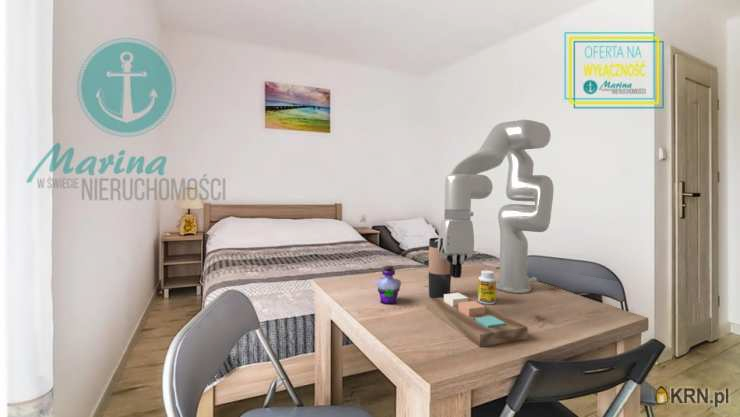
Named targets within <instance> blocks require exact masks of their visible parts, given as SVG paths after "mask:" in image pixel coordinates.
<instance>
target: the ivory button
mask: <svg viewBox="0 0 740 417" xmlns="http://www.w3.org/2000/svg"><path fill="white" fill-rule="evenodd" d="M464 295H465V294H462V293H461V292H453V293H451V292H450V294H444V302H445V303H447V304H449V305H450V306H452V307H456V306H458V303H460V302H468V297H469V296H468V297H466V296H467V295H466V296H464Z"/></svg>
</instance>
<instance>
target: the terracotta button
mask: <svg viewBox="0 0 740 417" xmlns="http://www.w3.org/2000/svg"><path fill="white" fill-rule="evenodd" d="M458 311H460V312H462V313H463V314H465V315H467V316H468V317H470V316H478V315H485V306H483V305H481V304H479V303H477V302H475V301H468V302H460V303H458Z"/></svg>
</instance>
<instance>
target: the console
mask: <svg viewBox="0 0 740 417" xmlns="http://www.w3.org/2000/svg"><path fill="white" fill-rule="evenodd" d="M463 295H464V296H466V297H468V301H475V302H477V303H479V304H481V305H483V306H485V315H478V316H470V317H468V316H467V315H465V314H463V313H462V312H460V311H458V306H456V307H452V306H450V305H449V304H447V303H445V302H444V297H442V298H426V299H425V300H426V310H427V311H429V312H430V313H432V314H433V315H435V316H436V317H437V318H438V319H440V320H441V321H443V322H444V323H446V324H447V325H449V326H450V327H451V328H452V329H454V330H455V331H457V332H459V334H460V335H463V336H464V337H465V338H467V339H468V341H469V340H470V341H471V342H472V343H474V344H475V345H476V346H478V347H479V348H482V347H487V346H493V345H499V344H504V343H511V342H517V341H523V340H527V339H528V332H529V331H528V328H529V327H528V326H527V325H524V324H522V323H520V322H519V321H517V320H514V319H513V318H510V317H508V316H507V315H505V314H503V313H501V312H499V311H497V310H495V309H493V308H491V307H490V306H487V304H483V303H480V302H479V301H478V300H476V299H474V298H472V297H470V296H468V295H466V294H463ZM486 316H493V317H495V318H497V319H499V320H501V321H502V322H504V323H505V326H500V327H493V328H486V327H485V326H483V325H481V324H480V323H478V322H476V321H475V318H479V317H486Z"/></svg>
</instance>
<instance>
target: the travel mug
mask: <svg viewBox="0 0 740 417" xmlns="http://www.w3.org/2000/svg"><path fill="white" fill-rule="evenodd" d="M428 240H429V241H428V242H429V244H428V296H429V297H430V299H433V298H442V297H444V294H451V283H452V282H451V279H452V276H451V275H450V263H449V262H448V260H447V259H445V258H441V257H440V256H439V255H440V251H438V237H430V238H429V239H428ZM447 255H448V254H447Z"/></svg>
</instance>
